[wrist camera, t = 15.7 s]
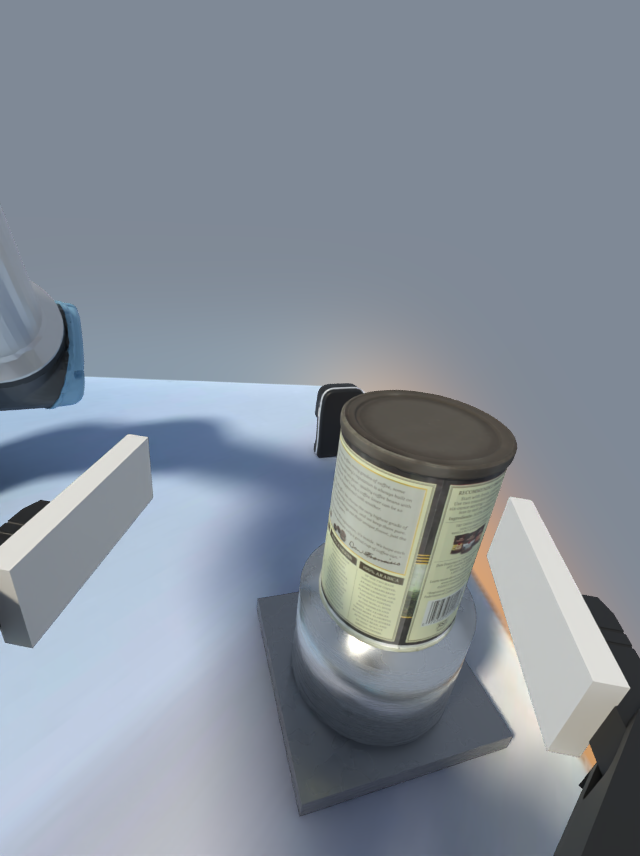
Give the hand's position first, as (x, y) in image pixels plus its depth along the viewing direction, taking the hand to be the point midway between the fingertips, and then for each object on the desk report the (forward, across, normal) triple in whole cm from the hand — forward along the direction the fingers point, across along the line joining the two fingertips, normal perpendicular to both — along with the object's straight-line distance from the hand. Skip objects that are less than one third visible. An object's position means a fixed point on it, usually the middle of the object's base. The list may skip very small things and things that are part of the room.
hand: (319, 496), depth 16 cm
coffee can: (+11, +5, -16) cm, 20 cm away
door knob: (+11, +6, -25) cm, 28 cm away
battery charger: (+47, -1, -26) cm, 54 cm away
